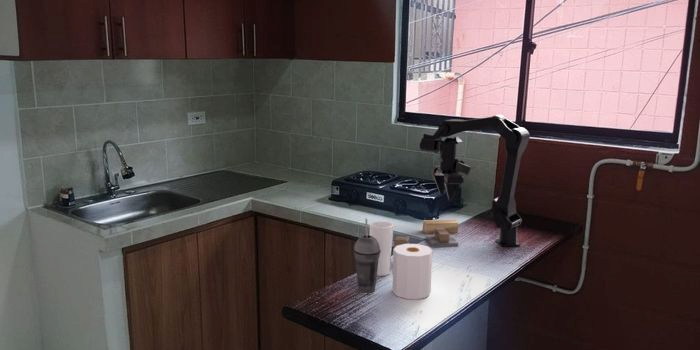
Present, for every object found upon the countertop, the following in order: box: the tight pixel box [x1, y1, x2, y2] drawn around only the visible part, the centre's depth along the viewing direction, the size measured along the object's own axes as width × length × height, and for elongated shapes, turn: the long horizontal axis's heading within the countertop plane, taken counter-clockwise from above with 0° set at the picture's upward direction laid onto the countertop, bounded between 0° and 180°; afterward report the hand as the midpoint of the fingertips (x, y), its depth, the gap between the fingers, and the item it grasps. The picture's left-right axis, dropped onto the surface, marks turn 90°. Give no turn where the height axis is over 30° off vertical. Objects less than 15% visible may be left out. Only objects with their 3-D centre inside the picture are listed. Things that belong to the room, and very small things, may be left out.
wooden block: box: [393, 235, 410, 249], centre depth 176 cm, size 4×4×8 cm
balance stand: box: [424, 228, 459, 248], centre depth 196 cm, size 9×9×4 cm
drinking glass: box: [368, 220, 394, 277], centre depth 167 cm, size 7×7×15 cm
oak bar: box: [422, 219, 459, 234], centre depth 209 cm, size 4×12×4 cm, turn 96°
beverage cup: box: [353, 218, 381, 295], centre depth 154 cm, size 7×7×20 cm
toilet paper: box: [391, 243, 433, 300], centre depth 154 cm, size 10×10×12 cm
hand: (446, 197), depth 208 cm, fingers open, 9 cm apart
